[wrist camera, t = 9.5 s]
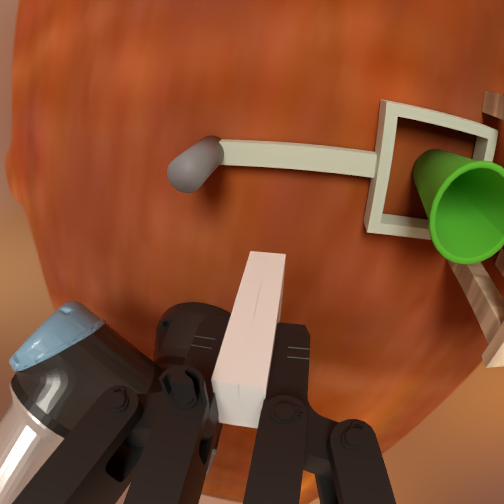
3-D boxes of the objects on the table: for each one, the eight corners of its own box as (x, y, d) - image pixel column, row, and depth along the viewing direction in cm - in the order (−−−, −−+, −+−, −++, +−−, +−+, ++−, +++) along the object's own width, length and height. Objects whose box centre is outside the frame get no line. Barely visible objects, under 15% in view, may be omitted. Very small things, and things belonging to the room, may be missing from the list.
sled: (200, 207, 35) (175, 243, 29) (195, 88, 28) (161, 95, 21) (460, 233, 31) (487, 273, 25) (487, 125, 24) (528, 145, 17)
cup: (419, 114, 26) (468, 138, 17) (480, 158, 26) (534, 199, 17) (380, 186, 31) (408, 238, 22) (441, 222, 31) (479, 279, 22)
